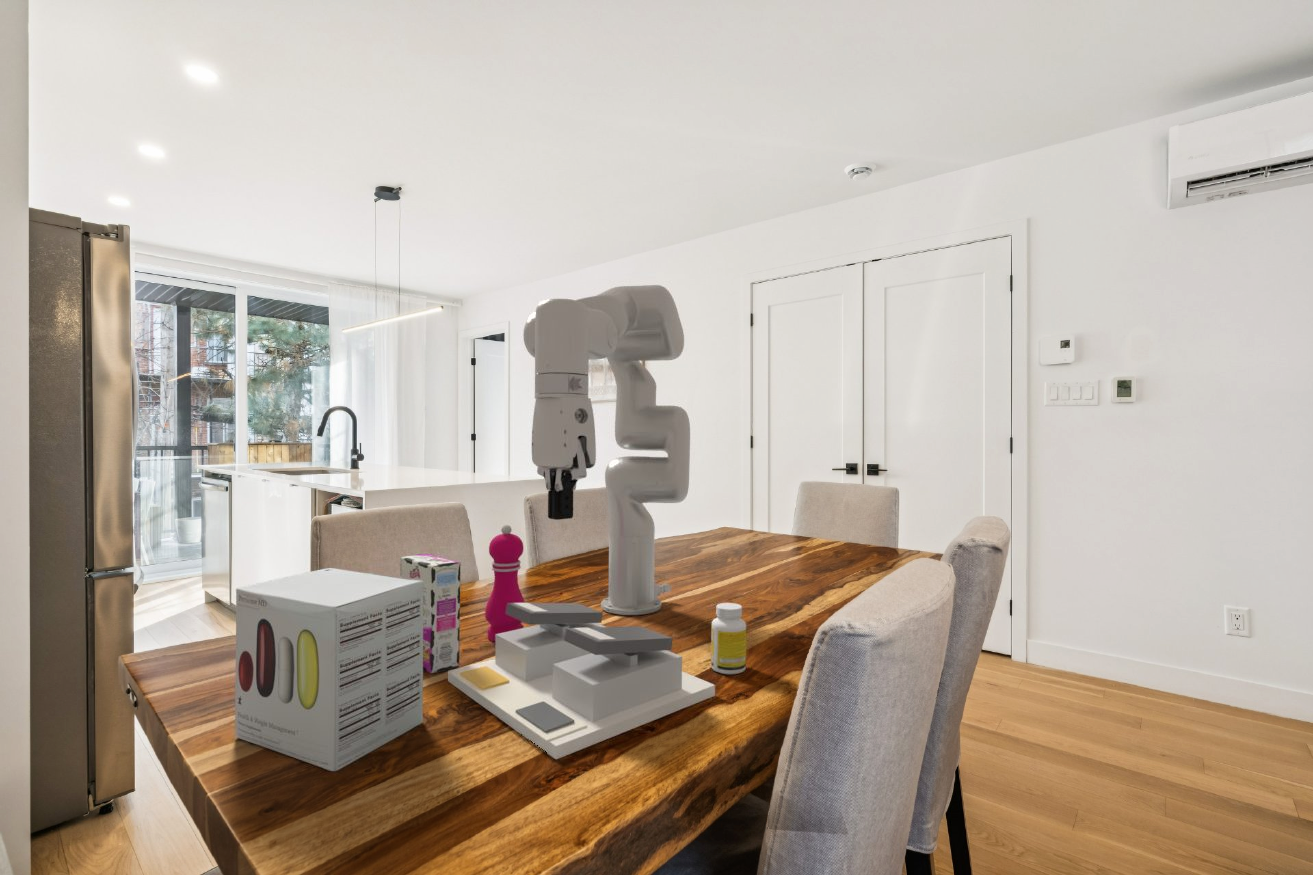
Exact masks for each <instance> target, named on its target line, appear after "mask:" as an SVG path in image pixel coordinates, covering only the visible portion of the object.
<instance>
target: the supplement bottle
mask: <svg viewBox="0 0 1313 875" xmlns="http://www.w3.org/2000/svg"><path fill="white" fill-rule="evenodd" d="M715 609H716V610H715V615H716V616H717V617H716V618H714V619H713V620H712V621H711V640H710V641H711V644H710V650H711V651H710V652H711V653H710V664H711V668H712V670H713V671H715V672H717V673H719V674H724V675H737V674H741V673H743V672H745V670H746V668H747V623H746V622H745V620H744V619H742V618H741V617H742V615H743V606H742V605H741V604H739V603H735V602H734V603H732V602H721V603H718V604H716V606H715Z"/></svg>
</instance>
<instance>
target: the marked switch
mask: <svg viewBox="0 0 1313 875" xmlns="http://www.w3.org/2000/svg"><path fill="white" fill-rule="evenodd" d="M505 614H507V615H509V616H511V617H514V618H516V619H518V620H520V621H522V622H523V623H524V624H527V625H528V626H529V625H531V626H534V625H539V624H575V623H598V624H602V622H603V621H602V620H603V614H604V612H602V611H600V610H597V609H594V608H593V607H589V606H586V605H583V604H581V603H579V602H525V603H507V607H506V613H505ZM522 622H521V623H522Z"/></svg>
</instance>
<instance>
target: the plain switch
mask: <svg viewBox="0 0 1313 875" xmlns="http://www.w3.org/2000/svg"><path fill="white" fill-rule="evenodd" d="M673 639H674V638H673V637H671V636H668V635H666V634H664V633H660V632H658V631H655V630H652V629H649V628H647V627H643V626H640V625H633V626H606V627H593V628H566V632H565V639H564V641H566V642H568V643H570V644H573V645H575V646H577V647H579V648H581V649H583V650H586V651H588V652H590V653H592V654H594V655H605V654H619V653H634V652H649V651H663V650H667V651H671V650H672V648H673V641H674V640H673Z"/></svg>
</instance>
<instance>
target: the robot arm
mask: <svg viewBox="0 0 1313 875" xmlns="http://www.w3.org/2000/svg"><path fill="white" fill-rule="evenodd" d="M523 343H524V346H525V348H526V351H527V352H528V353H529V355H530V356H532V358H534V399H535V401H534V402H535V403H534V410H533V416H532V428H531V429H532V430H531V461H532V463H533V465H534V466H536V467H537V470H536V472H537V474H538V475H539V476H541V477H543V478H544V480H545V488H546V490H547V492H548V493H547V518H548V519H550V520H556V521H558V520H559V521H560V520H568V519H569V520H570V519H572V518H573V517H574V491H576V489H577V482H578V481H579V480H581V479H586V478H587V475H588V474H587V469H591V468H593V467H594V466H595V465H596V460H597V452H596V451H597V448H596V446H597V444H596V441H597V440H596V429H595V428H596V427H595V425H596V424H595V417H594V410H593V404H592V400H591V398H589V365H590V364H589V363H590V362H589V360H590V361H594V360H595V361H596V360H603V359H607V361H608V365H609V367H610V369H611V371H612V374H613V377H614V380H615V384H616V386H615V387H616V397H615V416H614V419H615V420H614V437H615V438H614V439H615V442H616V445H617V446H618V447H620V448H622V449H623V450H629V451H647V452H648V451H650V452H651V451H653V452H654V451H656V452H659V451H663V452H665V453H666V454H667V456H643V455H642V456H641V455H639V456H635V455H634V456H633V455H632V456H631V455H628V456H619V457H617V458H614V459H612V460H611V461H610V462H609V463H608V464H607V466H606V468H605V471H604V481H605V490H606V495H607V503H608V518H609V520H608V529H609V530H608V597H605V598H603V600H601V602H600V607H601V609H602V610H603V611H605V612H607V613H608V614H614V615H620V616H641V615H647V614H652V613H655V612H656V613H657V612H658V611H659V610H660V609H662V601H661V600H660V598H659V596H661V594H667V593H670V592H671V591H672V588H671V585H670V584H669V583H663V584H658V583H656V582H655V532H656V530H655V529H656V528H655V521H654V519H653V516H652V515H651V513H650V512H649V510H647V508H646V506H645V505H644V504H648V503H649V504H651V503H652V504H653V503H654V504H679V503H681V502H683V501H685V500H686V499H687V498H686V497H687V496H688V493H689V487H690V486H689V485H690V457H691V455H690V454H691V448H690V447H691V424H690V418H689V415H688V413H687V411H686V410H685V409H684V408H683V407H681V406H676V405H657V382H656V381H655V380H656V379H654V377H653V375H652V373H650V371H649V370H648V369H647V368H646V367H645V366H644V365H643V363H642V362H641V361H643V362H646V361H647V362H648V361H653V362H654V361H655V362H656V361H673V360H676V359H678V358H679V357H680V356H681V355H682V353H683V351H684V347H685V335H684V328H683V325H682V322H681V319H680V314H679V311H678V308H677V306H676V302H675V300H674V298H673V296H672V293H671V292H670V291H669V290H668V288H666V287H665V286H662V285H660V284H650V285H645V284H644V285H621V286H615V287H611V288H608V289H607V290H604V291H603V292H601V293H598V294H596V295H592V296H588V297H587V296H585V297H583V298H578V299H569V298H549V299H545V300H542V301H540V302H539V303H538V304H537V306H536V309H535V310H534V311H533V312H532V313H531V314H530V315H529V317H528V318H527V319H526V322H525V324H524V328H523Z"/></svg>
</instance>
